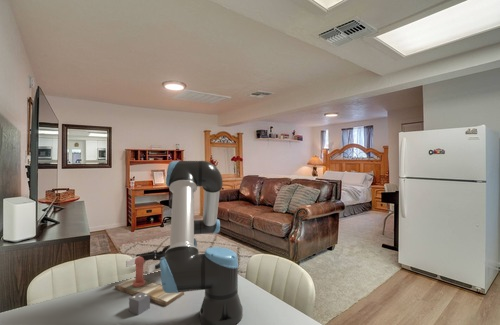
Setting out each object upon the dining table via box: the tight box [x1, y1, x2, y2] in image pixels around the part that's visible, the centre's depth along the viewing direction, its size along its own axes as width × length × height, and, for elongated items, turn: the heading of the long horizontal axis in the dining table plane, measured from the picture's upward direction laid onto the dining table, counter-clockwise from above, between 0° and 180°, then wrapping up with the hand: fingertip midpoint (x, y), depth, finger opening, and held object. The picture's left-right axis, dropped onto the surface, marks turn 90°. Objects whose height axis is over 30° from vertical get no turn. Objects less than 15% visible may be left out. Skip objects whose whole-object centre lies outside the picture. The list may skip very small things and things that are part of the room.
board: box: [114, 276, 185, 307], centre depth 107 cm, size 30×10×1 cm, turn 63°
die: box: [128, 292, 151, 316], centre depth 93 cm, size 5×5×5 cm
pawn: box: [133, 257, 146, 288], centre depth 110 cm, size 5×5×12 cm
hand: (137, 266), depth 109 cm, fingers open, 13 cm apart
